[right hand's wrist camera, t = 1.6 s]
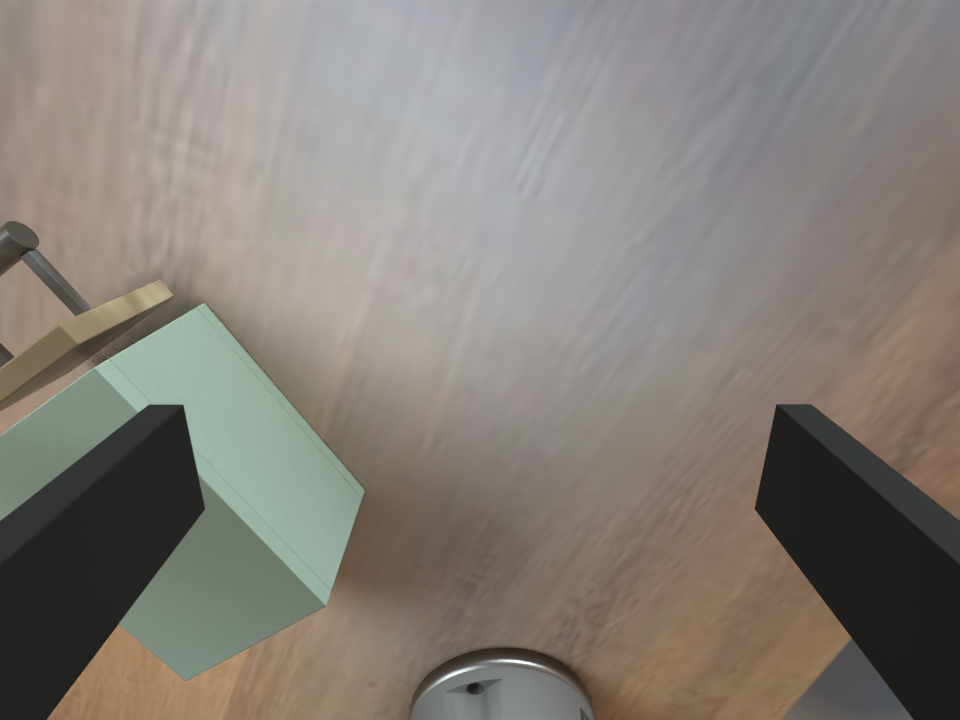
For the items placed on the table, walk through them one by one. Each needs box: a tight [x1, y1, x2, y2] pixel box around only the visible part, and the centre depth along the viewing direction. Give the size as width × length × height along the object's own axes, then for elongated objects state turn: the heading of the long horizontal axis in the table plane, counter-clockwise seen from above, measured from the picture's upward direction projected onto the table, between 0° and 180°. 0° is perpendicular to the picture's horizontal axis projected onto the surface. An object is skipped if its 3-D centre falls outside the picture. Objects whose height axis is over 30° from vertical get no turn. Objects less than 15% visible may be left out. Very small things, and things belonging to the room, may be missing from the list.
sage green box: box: [0, 303, 365, 681], centre depth 33 cm, size 16×10×10 cm, turn 33°
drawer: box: [0, 221, 173, 411], centre depth 31 cm, size 20×9×8 cm, turn 33°
